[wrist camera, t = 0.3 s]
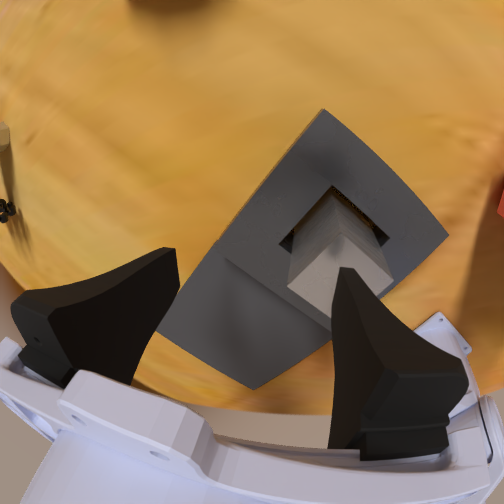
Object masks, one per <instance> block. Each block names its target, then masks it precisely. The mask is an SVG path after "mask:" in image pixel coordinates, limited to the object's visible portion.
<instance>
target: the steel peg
mask: <svg viewBox="0 0 504 504" xmlns="http://www.w3.org/2000/svg"><path fill="white" fill-rule="evenodd" d="M340 267H348V268H354V269H355V270H356V271H357V273H358V274H359V275H360V277H361V278H362V279H363V280H364V282H365V283H366V284H367V286H368V287H369V288H370V289H371V291H372V292H373V293H374V294H375V295H376V296H377V295H378V294H379V293H381V292H382V291H383V290H384V289H385V288H386V287H387V286H389V285H390V284H391V283H392V282H393V281H394V279H393V277H392V274H391V272H390V269H389V267H388V264H387V262H386V260H385V257H384V255H383V253H382V250H381V248H380V246H379V243H378V241H377V239H376V237H375V235H374V232H373V230H372V228H371V226H370V224H369V222H368V221H367V220H366V219H365V218H364V217H363V216H362V215H361V214H360V213H359V212H358V211H357V210H355V209H354V208H353V207H352V206H351V205H350V204H349V203H348V202H347V201H345V200H344V199H343V198H342V197H341V196H340V195H339V194H337V193H336V192H335V191H334V190H333V189H332V188H329V189H328V190H327V191H326V192H325V193H324V194H323V195H322V197H321V198H320V199H319V200H318V201H317V202H316V203H315V204H314V205H313V207H312V208H311V209H310V210H309V211H308V212H307V213H306V214H305V215H304V216H303V218H302V219H301V220H300V221H299V222H298V223H297V224H296V225H295V230H294V238H293V246H292V253H291V261H290V268H289V275H288V282H287V287H288V288H290V289H291V290H292V291H294V292H295V293H297V294H298V295H299V296H301V297H302V298H304V299H305V300H306V301H308V302H309V303H310V304H312V305H313V306H315V307H316V308H317V309H319V310H320V311H322V312H323V313H324V314H326V315H327V316H329V317H330V318H331V307H332V301H333V297H334V292H335V288H336V283H337V278H338V273H339V268H340Z"/></svg>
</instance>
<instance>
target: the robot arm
mask: <svg viewBox="0 0 504 504" xmlns="http://www.w3.org/2000/svg"><path fill="white" fill-rule="evenodd" d="M179 288H180V281H179V273H178V266H177V258H176V250H175V248H167V247H162V248H159V249H157V250H154V251H152V252H150V253H148V254H146V255H144V256H141V257H139V258H137V259H135V260H133V261H131V262H129V263H127V264H125V265H122V266H120V267H118V268H116V269H114V270H111V271H109V272H107V273H104V274H101V275H99V276H96V277H93V278H90V279H87V280H83V281H80V282H76V283H72V284H68V285H63V286H58V287H52V288H45V289H34V290H26V291H25V292H24V293H22V294H21V295H20V296H19V297H18V298H17V299H16V300H15V301H14V302H13V303H12V304H11V314H12V318H13V320H14V322H15V324H16V326H17V328H18V330H19V331H20V333H21V335H22V337H23V338H24V340H25V342H26V344H27V345H26V346H25V347H24V348H22V347H21V346H20V345H19V344H18V343H17V342H15V341H13V340H12V339H10V338H9V337H5V338H4V340H3V341H2V342H1V343H0V399H1V400H2V402H3V403H4V404H5V405H6V406H7V407H8V408H9V409H11V410H12V411H13V412H14V413H15V414H17V415H18V416H19V417H20V418H21V419H22V420H24V421H25V422H26V423H27V424H29V425H30V426H31V427H32V428H34V429H35V430H36V431H37V432H39V433H40V434H41V435H43V436H44V437H45V438H47V439H48V440H49V441H51V442H52V443H53V444H52V446H51V447H50V449H49V451H48V452H47V454H46V456H45V458H44V459H43V461H42V463H41V465H40V466H39V468H38V470H37V472H36V474H35V475H34V477H33V479H32V481H31V483H30V484H29V486H28V488H27V490H26V492H25V494H24V496H23V498H22V499H21V502H20V503H19V504H486V499H487V498H488V496H489V495H490V494H491V493H492V492H493V490H494V489H495V488H496V486H497V485H498V484H499V483H500V481H501V480H502V479H503V477H504V427H503V423H502V420H501V417H500V414H499V411H498V408H497V406H496V403H495V402H494V399H493V398H492V397H489V396H488V397H487V395H484V396H482V397H481V398H480V392H479V389H478V386H477V383H476V380H475V377H474V375H473V372H472V369H471V367H470V364H469V361H468V359H467V356H466V355H468V354H469V353H470V352H471V351H472V348H471V346H470V345H469V344H468V342H467V341H466V340H465V339H464V338H463V337H462V335H461V334H460V333H459V332H458V331H457V330H456V328H455V327H454V326H453V325H452V324H451V323H450V322H449V321H448V319H447V318H446V317H445V316H444V315H443V314H442V313H441V312H437V313H435V314H434V315H433V316H432V317H430V318H429V319H428V320H427V321H425V322H424V323H423V324H422V325H420V326H419V327H418V328H416V329H415V330H414V331H412V330H411V329H410V328H408V327H407V326H406V325H405V324H404V323H402V322H401V321H400V320H399V319H398V318H397V317H396V316H395V315H394V314H392V313H391V312H390V311H389V310H388V309H387V307H386V306H385V305H384V304H383V303H382V302H381V301H380V300H379V299H378V298H377V296H376V295H375V294H374V293H373V292H372V291H371V289H370V288H369V287H368V286H367V284H366V283H365V282H364V280H363V279H362V278H361V277H360V275H359V274H358V273H357V271H356V270H355V269H354V268H348V267H340V268H339V273H338V278H337V283H336V288H335V292H334V297H333V301H332V307H331V331H332V342H333V353H334V366H335V382H334V398H333V409H332V420H331V427H330V435H329V442H328V448H327V449H318V448H304V447H293V446H283V445H275V444H267V443H261V442H254V441H248V440H243V439H237V438H231V437H227V436H222V435H217V434H213V430H212V428H211V427H210V425H209V424H208V422H207V421H206V420H205V418H204V417H203V416H202V415H201V414H199V413H197V412H196V411H194V410H193V409H191V408H190V407H188V406H186V405H184V404H181V403H179V402H176V401H174V400H171V399H169V398H166V397H162V396H159V395H156V394H152V393H149V392H146V391H143V390H140V389H137V388H134V387H132V386H130V385H131V382H132V379H133V376H134V374H135V371H136V369H137V366H138V364H139V361H140V359H141V357H142V354H143V352H144V350H145V348H146V346H147V344H148V342H149V340H150V338H151V337H152V335H153V333H154V332H155V330H156V329H157V327H158V326H159V324H160V322H161V321H162V319H163V318H164V316H165V315H166V313H167V311H168V310H169V308H170V307H171V305H172V303H173V301H174V299H175V297H176V295H177V292H178V290H179ZM439 319H440V320H439ZM490 462H491V464H490V466H489V467H488V463H490Z"/></svg>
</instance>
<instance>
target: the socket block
mask: <svg viewBox="0 0 504 504" xmlns="http://www.w3.org/2000/svg"><path fill="white" fill-rule="evenodd" d="M331 185H333V186H334V187H335V188H337V189H338V190H339V191H340V192H341V193H342V194H343V195H345V196H346V197H347V198H348V199H349V200H350V201H351V202H352V203H354V204H355V205H356V206H357V207H358V208H359V209H360V210H361V211H362V212H363V213H365V214H366V215H367V216H368V217H369V218H370V219H371V220H372V221H373V222H374V223H375V224H376V226H375V227H374V228H373V229H372V230H373V232H374V235H375V237H376V239H377V241H378V243H379V246H380V248H381V250H382V253H383V255H384V257H385V260H386V262H387V264H388V267H389V269H390V272H391V274H392V277H393V279H394V281H393V282H392V283H391V284H390V285H389V286H387V287H386V288H385V289H384V290H383V291H382V292H381V293H379V294H378V295H377V298H378V299H379V300H380V299H381V298H382V297H383V296H384V295H386V294H387V293H388V292H389V291H390V290H391V289H393V288H394V287H395V286H396V285H397V284H398V283H399V282H401V281H402V280H403V279H404V278H405V277H406V276H407V275H408V274H410V273H411V272H412V271H413V270H414V269H415V268H416V267H417V266H418V265H419V264H420V263H421V262H423V261H424V260H425V259H426V258H427V257H428V256H429V255H430V254H431V253H432V252H433V251H434V250H435V249H436V248H437V247H438V246H439V245H440V244H441V243H442V242H443V241H444V240H445V239H446V238H447V237H448V236H449V234H448V233H447V232H446V230H445V229H444V228H443V227H442V225H441V224H440V223H439V222H438V220H437V219H436V218H435V217H434V215H433V214H432V213H431V212H430V211H429V210H428V208H427V207H426V206H425V205H424V204H423V203H422V201H421V200H420V199H419V198H418V197H417V196H416V195H415V193H414V192H413V191H412V190H411V189H410V188H409V187H408V186H407V185H406V184H405V183H404V182H403V180H402V179H401V178H400V177H399V176H398V175H397V174H396V173H395V172H394V171H393V170H392V169H391V168H390V167H389V166H388V165H387V164H386V163H385V162H384V161H383V160H382V159H381V158H380V157H379V156H378V155H377V154H376V153H375V152H374V151H372V150H371V149H370V148H369V147H368V146H367V145H366V144H365V143H364V142H363V141H362V140H361V139H359V138H358V137H357V136H356V135H355V134H354V133H353V132H352V131H350V130H349V129H348V128H347V127H346V126H345V125H343V124H342V123H341V122H340V121H339V120H337V119H336V118H335V117H334V116H333V115H331V114H330V113H329V112H328V111H326V110H325V109H321V110H320V111H319V112H318V114H317V115H316V116H315V117H314V118H313V120H312V121H311V122H310V123H309V124H308V126H307V127H306V128H305V129H304V130H303V132H302V133H301V134H300V135H299V136H298V138H297V139H296V140H295V141H294V143H293V144H292V145H291V146H290V147H289V149H288V150H287V151H286V152H285V154H284V155H283V156H282V157H281V159H280V160H279V161H278V162H277V164H276V165H275V166H274V167H273V169H272V170H271V171H270V172H269V174H268V175H267V176H266V177H265V179H264V180H263V181H262V182H261V184H260V185H259V186H258V187H257V189H256V190H255V191H254V193H253V194H252V195H251V196H250V198H249V199H248V200H247V202H246V203H245V204H244V205H243V207H242V208H241V209H240V211H239V212H238V213H237V214H236V216H235V217H234V218H233V220H232V221H231V222H230V224H229V225H228V226H227V228H226V229H225V230H224V232H223V233H222V235H221V236H220V238H219V239H218V241H217V242H216V244H215V245H214V247H213V249H214V250H216V251H217V252H218V253H220V254H221V255H222V256H224V257H225V258H227V259H228V260H229V261H231V262H232V263H234V264H235V265H236V266H238V267H239V268H241V269H242V270H243V271H245V272H246V273H248V274H249V275H250V276H252V277H253V278H255V279H256V280H257V281H259V282H260V283H262V284H263V285H264V286H266V287H267V288H269V289H270V290H272V291H273V292H274V293H276V294H277V295H279V296H280V297H281V298H283V299H284V300H286V301H287V302H289V303H290V304H291V305H293V306H294V307H296V308H297V309H299V310H300V311H302V312H303V313H304V314H306V315H307V316H309V317H310V318H312V319H313V320H315V321H316V322H317V323H319V324H320V325H322V326H323V327H325V328H326V329H328V330H329V331H331V318H330V317H329V316H327V315H326V314H324V313H323V312H322V311H320V310H319V309H317V308H316V307H315V306H313V305H312V304H310V303H309V302H308V301H306V300H305V299H304V298H302V297H301V296H299V295H298V294H297V293H295V292H294V291H292V290H291V289H290V288H288V287H287V282H288V275H289V268H290V261H291V253H292V246H293V238H294V235H292V234H291V233H290V231H291V230H292V229H293V227H294V226H295V225H296V224H297V223H298V222H299V221H300V220H301V219H302V218H303V216H304V215H305V214H306V213H307V212H308V211H309V210H310V209H311V208H312V207H313V205H314V204H315V203H316V202H317V201H318V200H319V199H320V198H321V197H322V195H323V194H324V193H325V192H326V191H327V190H328V189H329V188H330V186H331ZM331 332H332V331H331Z"/></svg>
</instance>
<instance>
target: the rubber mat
mask: <svg viewBox="0 0 504 504" xmlns="http://www.w3.org/2000/svg"><path fill="white" fill-rule="evenodd" d="M217 241H218V240H217ZM217 241H216V242H217ZM216 242H215V243H214V245H215V244H216ZM214 245H213V246H212V247H211V249H210V250H209V251H208V253H207V254H206V255H205V257H204V258H203V260H202V261H201V262H200V264H199V265H198V266H197V268H196V269H195V270H194V272H193V273H192V274H191V276H190V277H189V279H188V280H187V281H186V283H185V284H184V285H183V287H182V288H181V290H180V291H179V292H178V294H177V295H176V297H175V299H174V301H173V303H172V305H171V307H170V308H169V310H168V311H167V313H166V315H165V316H164V318H163V319H162V321H161V322H160V324H159V326H158V327H157V329H156V330H155V331H157V332H158V333H160V334H161V335H163V336H164V337H166V338H167V339H169V340H170V341H172V342H173V343H175V344H176V345H178V346H179V347H181V348H182V349H184V350H185V351H187V352H189V353H190V354H192V355H193V356H195V357H196V358H198V359H200V360H201V361H203V362H205V363H206V364H208V365H210V366H211V367H213V368H215V369H216V370H218V371H220V372H222V373H223V374H225V375H227V376H229V377H230V378H232V379H234V380H236V381H238V382H239V383H241V384H243V385H245V386H247V387H249V388H250V389H252V390H255V389H256V388H258V387H260V386H262V385H263V384H265V383H267V382H268V381H270V380H271V379H273V378H275V377H276V376H278V375H279V374H281V373H283V372H284V371H286V370H287V369H289V368H290V367H292V366H293V365H295V364H296V363H298V362H300V361H301V360H303V359H304V358H305V357H307V356H308V355H310V354H311V353H313V352H314V351H316V350H317V349H319V348H320V347H321V346H323V345H324V344H326V343H327V342H328V341H330V340H331V339H332V332H331V331H329V330H328V329H326V328H325V327H323V326H322V325H320V324H319V323H317V322H316V321H315V320H313V319H312V318H310V317H309V316H307V315H306V314H304V313H303V312H302V311H300V310H299V309H297V308H296V307H294V306H293V305H291V304H290V303H289V302H287V301H286V300H284V299H283V298H281V297H280V296H279V295H277V294H276V293H274V292H273V291H272V290H270V289H269V288H267V287H266V286H264V285H263V284H262V283H260V282H259V281H257V280H256V279H255V278H253V277H252V276H250V275H249V274H248V273H246V272H245V271H243V270H242V269H241V268H239V267H238V266H236V265H235V264H234V263H232V262H231V261H229V260H228V259H227V258H225V257H224V256H222V255H221V254H220V253H218V252H217V251H216V250H214V249H213V247H214Z"/></svg>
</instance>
